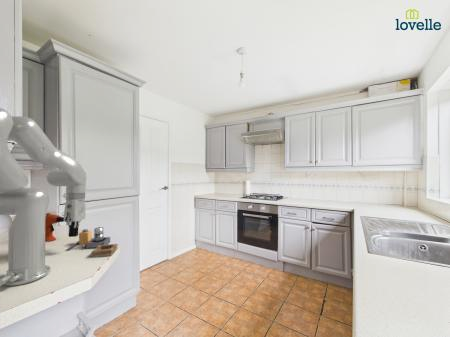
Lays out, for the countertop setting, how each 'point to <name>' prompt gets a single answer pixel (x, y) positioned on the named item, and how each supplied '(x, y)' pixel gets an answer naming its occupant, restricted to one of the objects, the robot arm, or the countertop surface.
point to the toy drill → (51, 226)
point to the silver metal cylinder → (98, 234)
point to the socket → (97, 243)
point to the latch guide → (76, 245)
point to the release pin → (84, 237)
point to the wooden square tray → (104, 250)
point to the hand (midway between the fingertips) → (73, 236)
